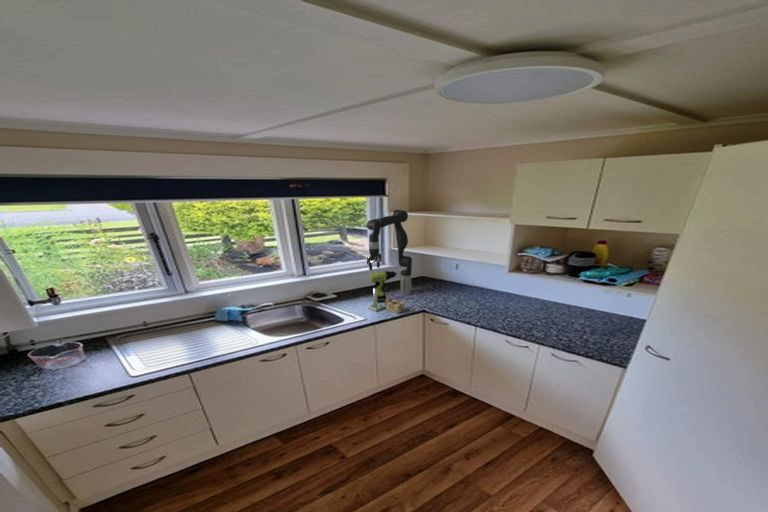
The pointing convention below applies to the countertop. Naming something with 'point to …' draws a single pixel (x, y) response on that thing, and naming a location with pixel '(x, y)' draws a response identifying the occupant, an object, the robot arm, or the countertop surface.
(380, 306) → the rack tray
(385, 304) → the drift key
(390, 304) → the socket block
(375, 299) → the steel bit
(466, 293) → the countertop surface
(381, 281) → the cordless drill
